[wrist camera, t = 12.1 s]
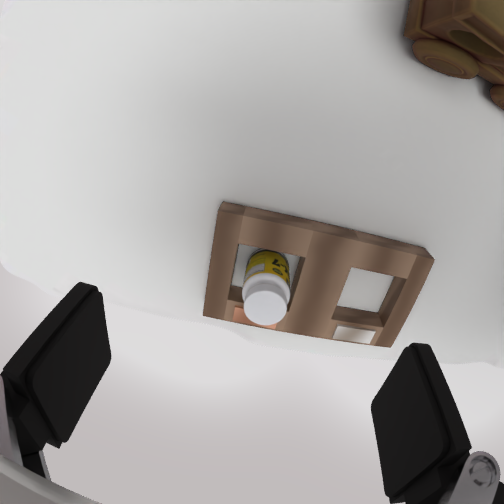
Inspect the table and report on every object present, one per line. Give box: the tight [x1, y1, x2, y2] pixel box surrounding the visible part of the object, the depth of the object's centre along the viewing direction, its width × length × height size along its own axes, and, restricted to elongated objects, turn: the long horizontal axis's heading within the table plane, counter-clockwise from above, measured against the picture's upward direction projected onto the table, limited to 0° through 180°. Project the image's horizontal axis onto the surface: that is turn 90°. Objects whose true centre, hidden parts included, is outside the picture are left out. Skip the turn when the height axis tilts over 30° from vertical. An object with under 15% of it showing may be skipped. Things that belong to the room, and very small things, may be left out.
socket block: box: [203, 202, 435, 348], centre depth 35 cm, size 24×13×3 cm, turn 79°
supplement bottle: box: [242, 249, 290, 325], centre depth 33 cm, size 5×5×8 cm
